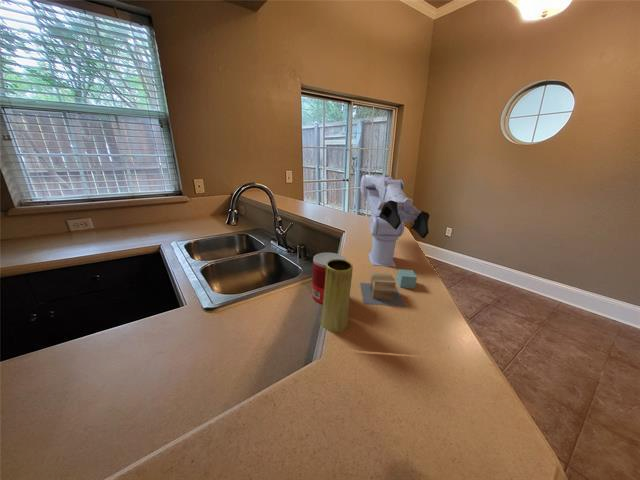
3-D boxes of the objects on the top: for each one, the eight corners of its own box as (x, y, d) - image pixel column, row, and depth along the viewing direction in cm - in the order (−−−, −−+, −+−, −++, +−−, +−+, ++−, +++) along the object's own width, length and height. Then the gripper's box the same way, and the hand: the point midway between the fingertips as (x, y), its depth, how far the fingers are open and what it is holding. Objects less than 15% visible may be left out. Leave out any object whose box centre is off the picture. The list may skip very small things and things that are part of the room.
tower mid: (371, 280, 67) (372, 271, 66) (389, 281, 66) (391, 272, 66) (373, 290, 62) (375, 281, 61) (394, 291, 62) (395, 282, 61)
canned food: (341, 309, 59) (344, 267, 55) (308, 304, 60) (309, 263, 56) (344, 292, 66) (348, 254, 62) (315, 287, 67) (316, 250, 63)
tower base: (369, 288, 68) (371, 280, 67) (388, 289, 67) (389, 281, 66) (372, 298, 63) (373, 290, 62) (392, 299, 63) (394, 291, 62)
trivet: (359, 284, 70) (359, 282, 70) (395, 286, 70) (395, 285, 70) (363, 305, 61) (363, 303, 61) (404, 307, 60) (405, 306, 60)
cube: (396, 281, 73) (398, 269, 71) (410, 282, 72) (412, 270, 71) (399, 288, 69) (402, 276, 67) (414, 289, 69) (417, 277, 67)
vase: (351, 318, 56) (357, 261, 51) (344, 336, 50) (351, 274, 45) (325, 312, 57) (329, 255, 52) (316, 328, 52) (319, 268, 47)
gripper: (381, 182, 67) (393, 207, 56) (427, 199, 70) (447, 226, 59) (369, 204, 71) (378, 231, 60) (413, 219, 74) (429, 248, 63)
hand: (411, 230), depth 60 cm, fingers open, 7 cm apart
